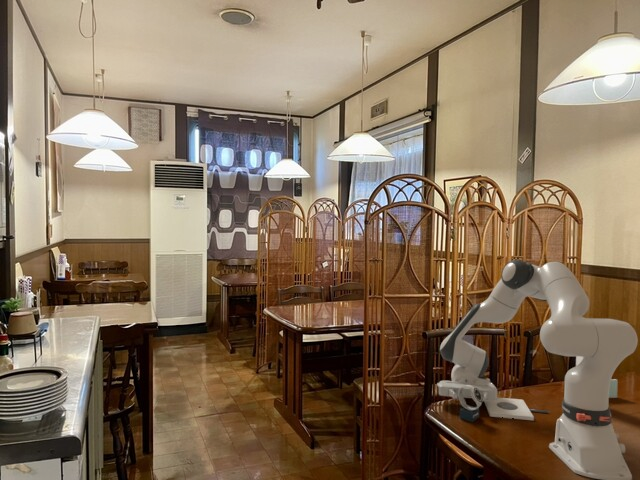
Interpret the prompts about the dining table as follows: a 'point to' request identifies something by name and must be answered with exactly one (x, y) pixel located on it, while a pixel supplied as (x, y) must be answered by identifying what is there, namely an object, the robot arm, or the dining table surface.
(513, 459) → the dining table surface
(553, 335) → the robot arm
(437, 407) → the dining table surface
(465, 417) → the watch
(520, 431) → the dining table surface
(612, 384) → the right angle wall
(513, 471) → the dining table surface
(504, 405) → the charging pad
